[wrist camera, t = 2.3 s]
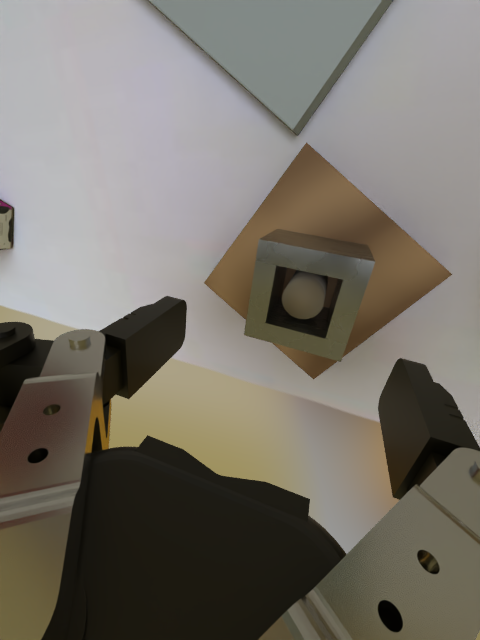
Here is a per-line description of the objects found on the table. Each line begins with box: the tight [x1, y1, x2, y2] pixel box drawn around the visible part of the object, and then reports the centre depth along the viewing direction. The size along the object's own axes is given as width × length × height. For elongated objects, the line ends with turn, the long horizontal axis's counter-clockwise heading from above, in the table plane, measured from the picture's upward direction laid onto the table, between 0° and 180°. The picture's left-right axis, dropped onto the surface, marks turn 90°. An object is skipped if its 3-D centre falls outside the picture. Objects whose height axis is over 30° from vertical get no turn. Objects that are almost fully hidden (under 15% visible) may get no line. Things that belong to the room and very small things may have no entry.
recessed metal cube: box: [244, 229, 375, 362], centre depth 18 cm, size 6×6×5 cm
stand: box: [204, 143, 452, 379], centre depth 19 cm, size 12×12×6 cm
